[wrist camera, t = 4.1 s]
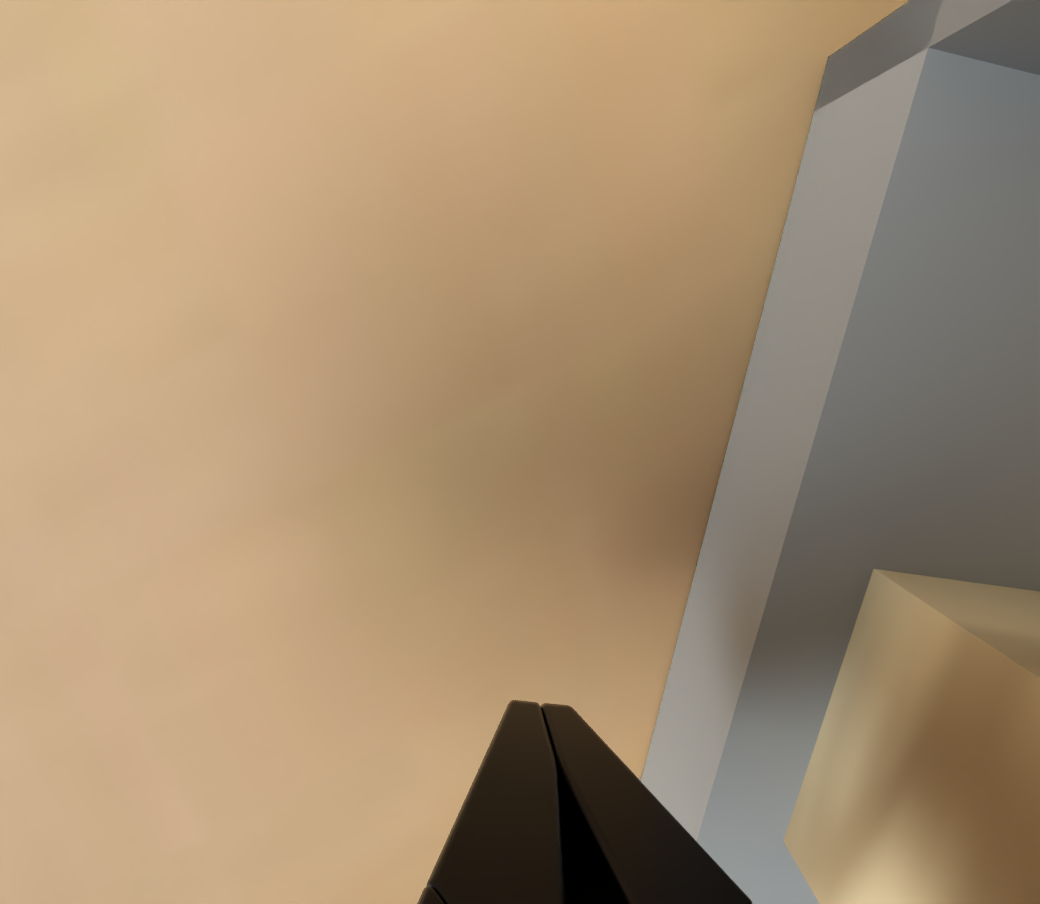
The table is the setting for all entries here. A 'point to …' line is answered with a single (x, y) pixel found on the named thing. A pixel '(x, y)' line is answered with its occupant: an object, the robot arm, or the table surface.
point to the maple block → (928, 751)
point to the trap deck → (866, 411)
